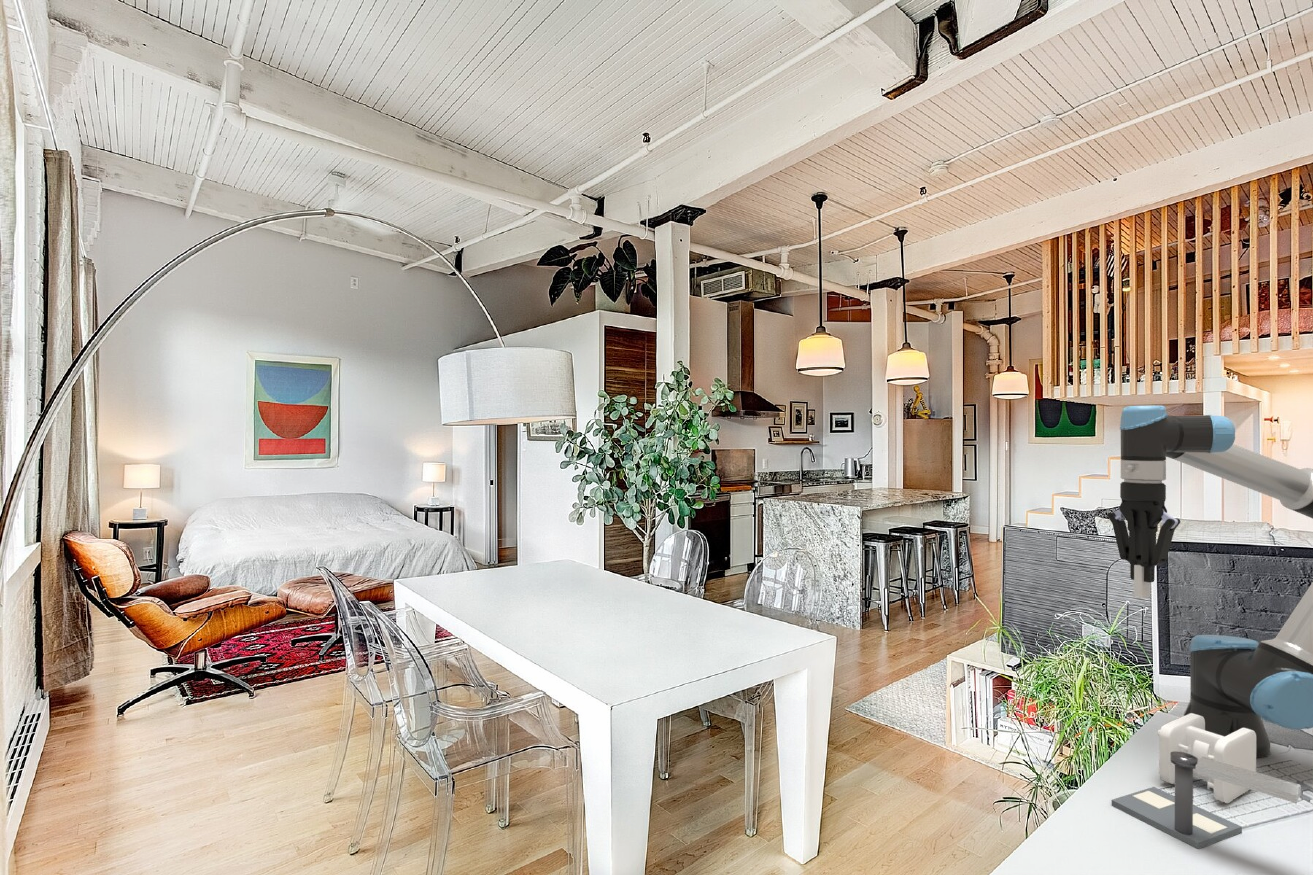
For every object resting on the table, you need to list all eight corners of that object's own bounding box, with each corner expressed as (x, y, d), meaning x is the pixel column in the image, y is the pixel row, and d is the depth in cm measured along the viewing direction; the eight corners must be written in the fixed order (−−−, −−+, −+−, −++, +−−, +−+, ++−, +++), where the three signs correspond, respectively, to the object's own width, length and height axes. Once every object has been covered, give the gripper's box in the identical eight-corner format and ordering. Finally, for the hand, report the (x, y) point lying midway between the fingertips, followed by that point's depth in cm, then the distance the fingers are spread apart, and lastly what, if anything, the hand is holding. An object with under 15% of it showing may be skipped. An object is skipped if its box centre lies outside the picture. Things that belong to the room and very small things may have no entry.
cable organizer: (1222, 810, 121) (1222, 746, 121) (1155, 784, 130) (1155, 724, 130) (1257, 789, 128) (1258, 728, 128) (1191, 765, 137) (1192, 708, 137)
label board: (1153, 791, 127) (1154, 728, 127) (1241, 832, 114) (1242, 761, 114) (1111, 805, 122) (1111, 739, 122) (1198, 848, 109) (1198, 775, 109)
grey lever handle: (1300, 792, 104) (1300, 785, 104) (1296, 803, 101) (1296, 795, 101) (1174, 755, 116) (1174, 748, 116) (1167, 763, 113) (1167, 756, 113)
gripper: (1098, 479, 142) (1098, 591, 142) (1165, 484, 130) (1165, 606, 130) (1122, 479, 144) (1121, 588, 145) (1189, 483, 132) (1189, 602, 132)
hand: (1142, 596), depth 137 cm, fingers closed
